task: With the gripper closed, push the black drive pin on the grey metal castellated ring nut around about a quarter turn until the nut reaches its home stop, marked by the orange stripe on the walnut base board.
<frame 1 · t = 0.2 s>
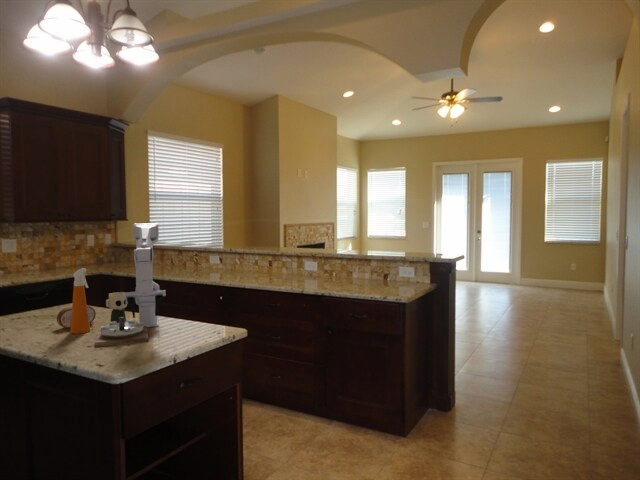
hand: (145, 316, 169), 10 cm above the worktop, tool pointing down, fingers open, 7 cm apart
base board: (122, 337, 176), on the worktop
character mug: (118, 323, 199), on the worktop
tin: (77, 326, 193), on the worktop
ring nut: (122, 323, 176), point 5 cm above the worktop, hinge at 0.0°
spray bottle: (82, 332, 183), on the worktop
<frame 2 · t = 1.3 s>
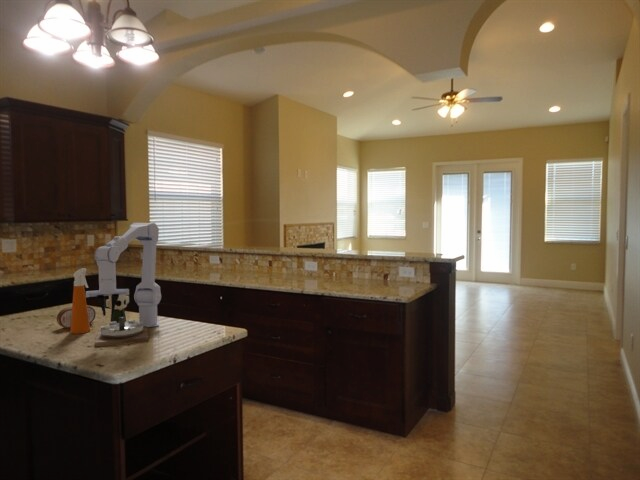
hand: (108, 314, 169), 10 cm above the worktop, tool pointing down, fingers closed
nothing on the worktop moved.
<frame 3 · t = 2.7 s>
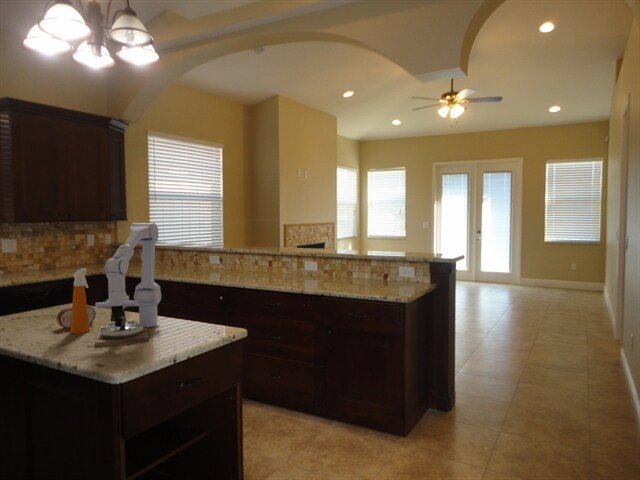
hand: (117, 326, 171), 6 cm above the worktop, tool pointing down, fingers closed, pressing on ring nut
ring nut: (122, 323, 176), point 5 cm above the worktop, hinge at 2.0°, touching gripper
everything else where it was.
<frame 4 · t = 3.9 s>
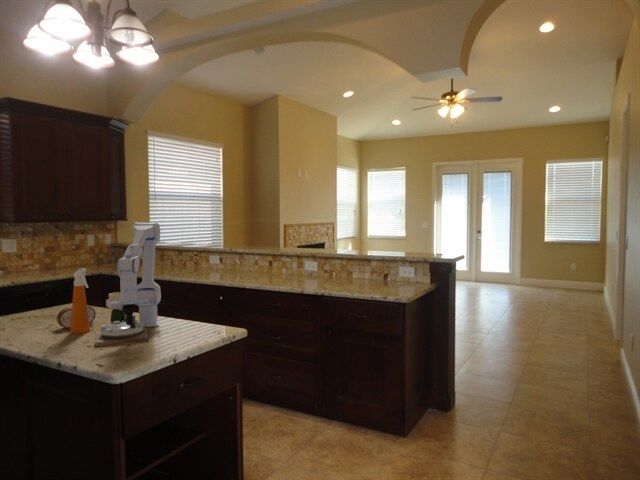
hand: (129, 324, 173), 6 cm above the worktop, tool pointing down, fingers closed, pressing on ring nut
ring nut: (122, 323, 176), point 5 cm above the worktop, hinge at 48.3°, touching gripper
everything else where it was.
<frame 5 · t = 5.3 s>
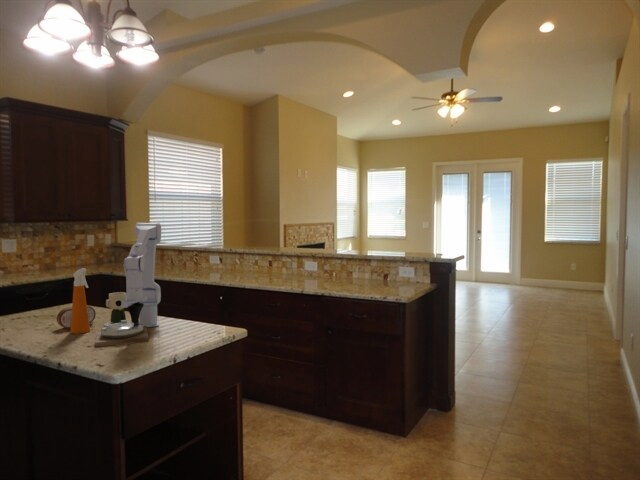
hand: (135, 322, 175), 6 cm above the worktop, tool pointing down, fingers closed, pressing on ring nut
ring nut: (122, 323, 176), point 5 cm above the worktop, hinge at 85.1°, touching gripper
everything else where it was.
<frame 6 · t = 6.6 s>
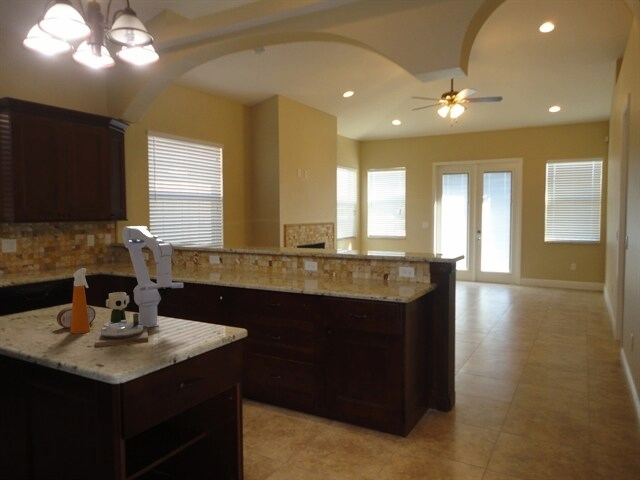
hand: (165, 306, 184), 10 cm above the worktop, tool pointing down, fingers closed
ring nut: (122, 323, 176), point 5 cm above the worktop, hinge at 85.2°
everything else where it was.
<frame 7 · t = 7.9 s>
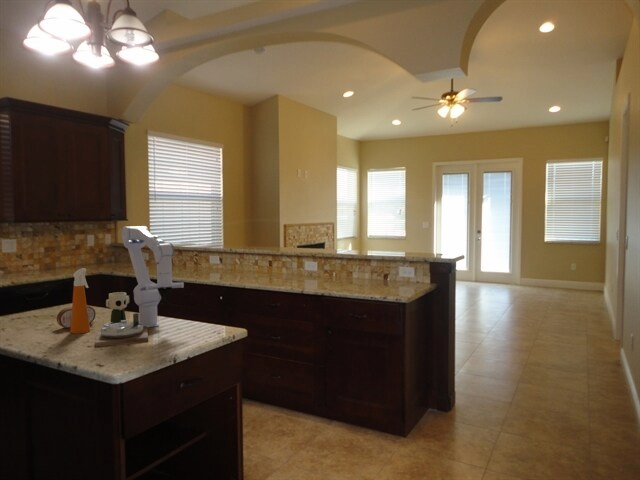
hand: (165, 306, 184), 10 cm above the worktop, tool pointing down, fingers closed
nothing on the worktop moved.
at the end: ring nut at +85° (first picture: +0°) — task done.
